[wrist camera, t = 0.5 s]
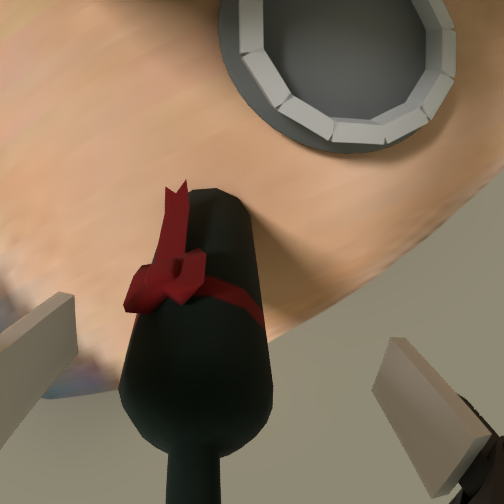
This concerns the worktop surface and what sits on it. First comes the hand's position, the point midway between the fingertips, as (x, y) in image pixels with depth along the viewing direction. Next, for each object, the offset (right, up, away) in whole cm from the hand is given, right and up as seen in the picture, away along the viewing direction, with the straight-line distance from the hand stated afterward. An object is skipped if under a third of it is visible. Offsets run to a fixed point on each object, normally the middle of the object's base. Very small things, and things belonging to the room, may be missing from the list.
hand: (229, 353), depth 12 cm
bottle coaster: (+8, +21, +9) cm, 24 cm away
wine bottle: (-3, +7, +17) cm, 19 cm away
